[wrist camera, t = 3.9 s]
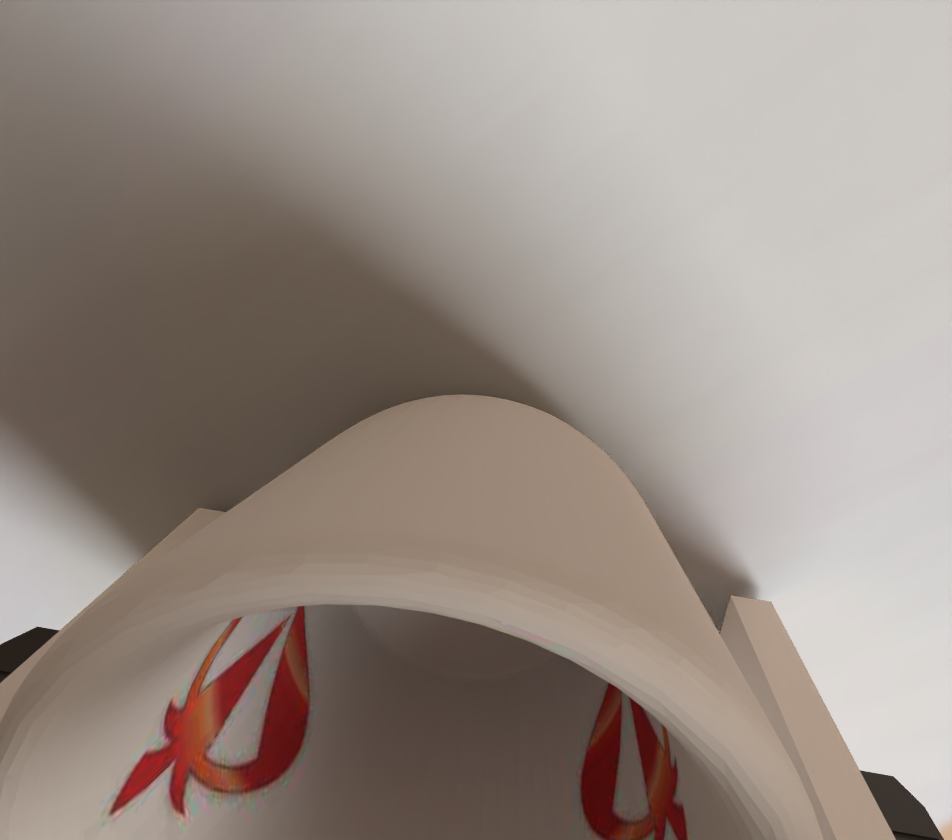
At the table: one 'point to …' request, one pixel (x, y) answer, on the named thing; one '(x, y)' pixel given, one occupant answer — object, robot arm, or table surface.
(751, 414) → the table surface
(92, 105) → the table surface
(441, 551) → the cup
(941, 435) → the table surface
